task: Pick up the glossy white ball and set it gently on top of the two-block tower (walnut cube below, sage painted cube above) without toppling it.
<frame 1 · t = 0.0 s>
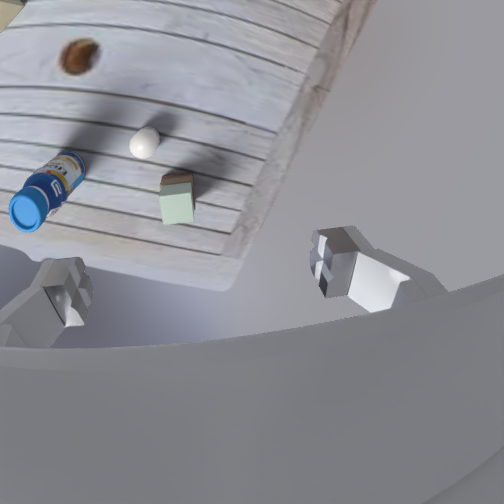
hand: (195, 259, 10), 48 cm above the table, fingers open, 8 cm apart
tower base: (179, 187, 57), on the table, touching tower top
beverage bottle: (69, 169, 50), on the table
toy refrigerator: (7, 11, 25), on the table
tower top: (178, 197, 53), point 5 cm above the table, touching tower base
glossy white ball: (147, 139, 50), on the table
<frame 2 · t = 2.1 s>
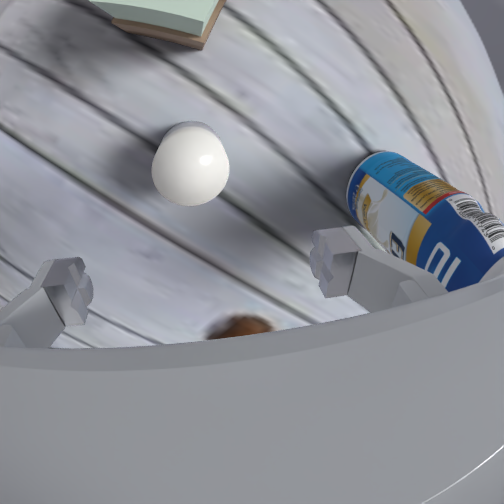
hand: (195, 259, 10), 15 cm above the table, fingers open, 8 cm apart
tower base: (179, 7, 15), on the table, touching tower top
beverage bottle: (378, 187, 27), on the table
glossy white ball: (190, 151, 22), on the table
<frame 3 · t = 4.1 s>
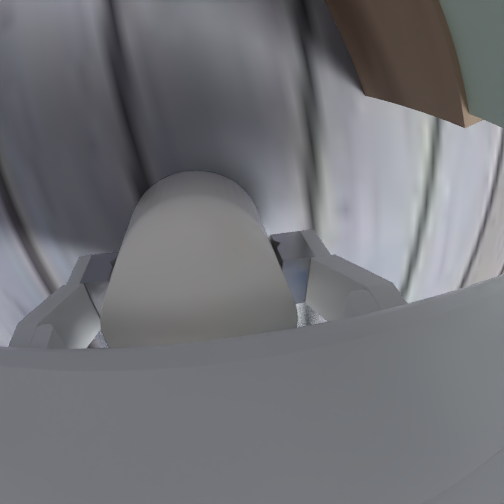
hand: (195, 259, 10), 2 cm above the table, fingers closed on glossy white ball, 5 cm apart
tower base: (397, 8, 7), on the table, touching tower top
tower top: (498, 2, 3), point 5 cm above the table, touching tower base
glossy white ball: (195, 233, 11), on the table, touching gripper
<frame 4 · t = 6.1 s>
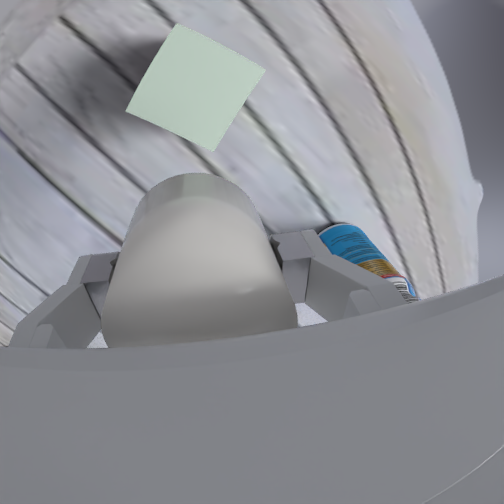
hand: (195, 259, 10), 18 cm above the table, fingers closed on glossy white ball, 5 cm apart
beverage bottle: (334, 250, 35), on the table
tower top: (193, 84, 17), point 5 cm above the table, touching tower base
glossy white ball: (195, 235, 11), point 16 cm above the table, touching gripper
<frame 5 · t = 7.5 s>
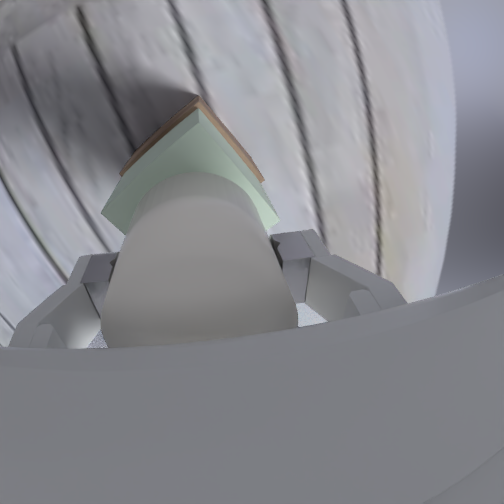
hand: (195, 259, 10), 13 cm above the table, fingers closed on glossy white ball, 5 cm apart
tower base: (192, 152, 20), on the table, touching tower top
tower top: (191, 175, 16), point 5 cm above the table, touching tower base
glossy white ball: (195, 234, 11), point 11 cm above the table, touching gripper
when the fingers open (12 cm above the table, at t = 8.4 s): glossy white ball stays where it is, resting on tower top.
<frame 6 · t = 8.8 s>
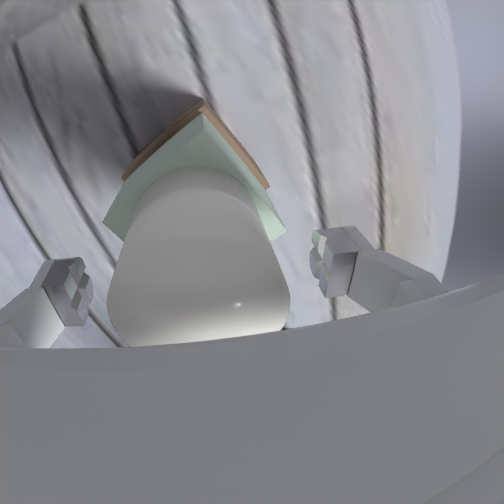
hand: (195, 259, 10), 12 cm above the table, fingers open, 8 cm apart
tower base: (196, 156, 20), on the table, touching tower top
tower top: (194, 181, 16), point 5 cm above the table, touching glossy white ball, tower base
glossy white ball: (195, 225, 12), point 10 cm above the table, touching tower top
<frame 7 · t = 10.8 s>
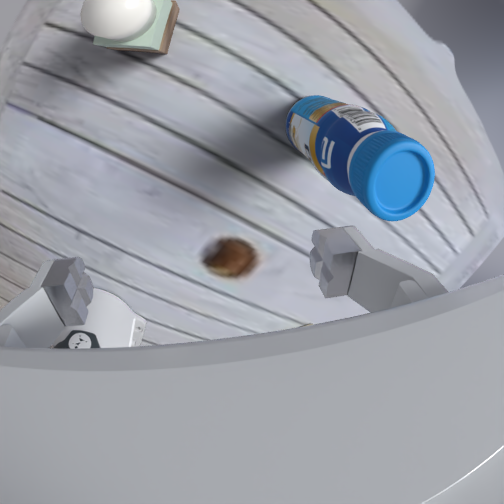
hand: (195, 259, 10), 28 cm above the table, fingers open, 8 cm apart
tower base: (148, 29, 25), on the table, touching tower top
beverage bottle: (314, 124, 35), on the table
tower top: (139, 24, 21), point 5 cm above the table, touching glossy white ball, tower base
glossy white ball: (128, 16, 17), point 10 cm above the table, touching tower top
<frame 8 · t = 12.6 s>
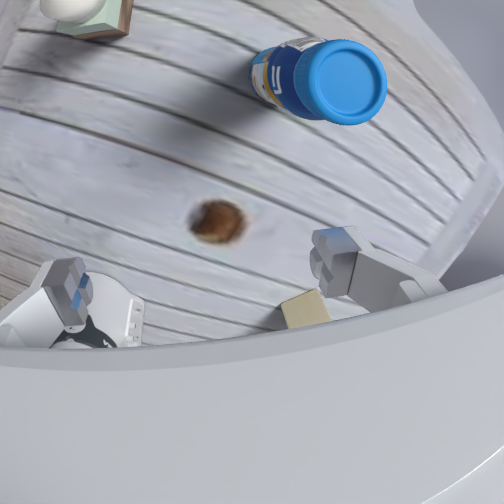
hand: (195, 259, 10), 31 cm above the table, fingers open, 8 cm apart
tower base: (109, 16, 24), on the table, touching tower top
beverage bottle: (278, 75, 33), on the table
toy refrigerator: (302, 306, 58), on the table
tower top: (98, 11, 20), point 5 cm above the table, touching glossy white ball, tower base
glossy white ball: (83, 2, 16), point 10 cm above the table, touching tower top
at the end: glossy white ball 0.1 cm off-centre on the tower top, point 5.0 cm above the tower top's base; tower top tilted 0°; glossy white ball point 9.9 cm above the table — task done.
